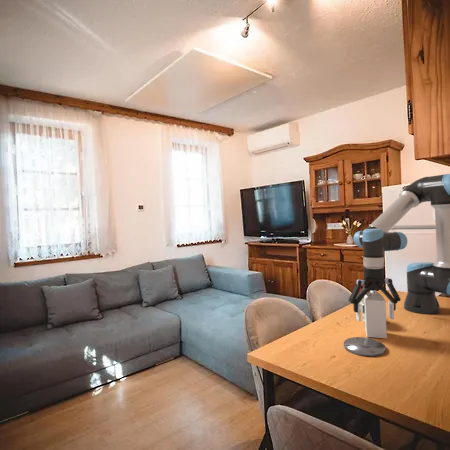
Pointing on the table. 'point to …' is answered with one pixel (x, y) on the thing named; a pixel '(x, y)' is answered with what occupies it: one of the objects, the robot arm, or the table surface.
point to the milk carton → (375, 315)
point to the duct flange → (364, 346)
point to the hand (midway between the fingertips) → (374, 319)
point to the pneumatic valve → (362, 309)
